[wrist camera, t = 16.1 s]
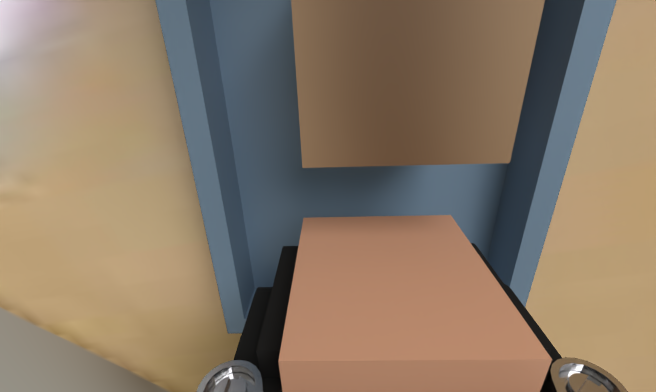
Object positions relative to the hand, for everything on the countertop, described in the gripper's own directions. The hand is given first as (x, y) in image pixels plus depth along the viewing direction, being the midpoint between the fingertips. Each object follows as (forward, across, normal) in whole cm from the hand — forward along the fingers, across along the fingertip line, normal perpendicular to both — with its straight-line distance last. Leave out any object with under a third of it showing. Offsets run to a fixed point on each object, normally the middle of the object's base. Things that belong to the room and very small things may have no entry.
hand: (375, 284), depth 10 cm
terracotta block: (0, 0, 0) cm, 0 cm away
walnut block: (+3, 0, -7) cm, 8 cm away
